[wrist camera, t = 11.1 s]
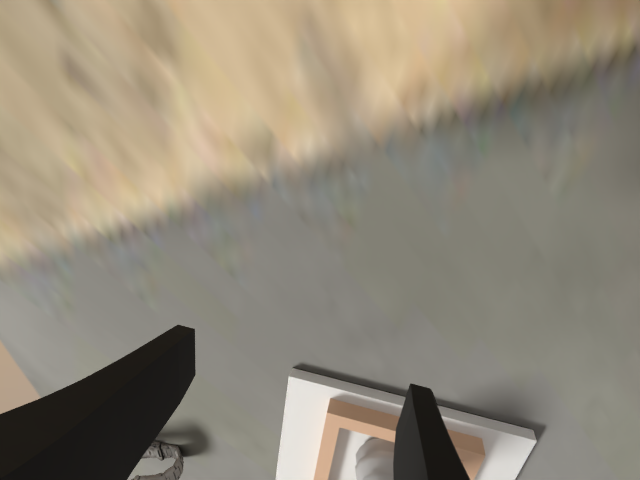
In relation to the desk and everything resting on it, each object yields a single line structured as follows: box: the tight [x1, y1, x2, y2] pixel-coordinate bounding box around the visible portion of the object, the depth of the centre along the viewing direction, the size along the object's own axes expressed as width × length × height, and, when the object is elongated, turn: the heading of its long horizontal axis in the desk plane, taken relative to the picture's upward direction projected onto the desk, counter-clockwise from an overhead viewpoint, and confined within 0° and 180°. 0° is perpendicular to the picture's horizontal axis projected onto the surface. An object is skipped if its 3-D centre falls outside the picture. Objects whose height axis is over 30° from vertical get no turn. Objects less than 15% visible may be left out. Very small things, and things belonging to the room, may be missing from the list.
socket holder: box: [276, 368, 537, 480], centre depth 27 cm, size 16×12×2 cm
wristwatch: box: [132, 441, 184, 480], centre depth 31 cm, size 4×6×5 cm, turn 94°
